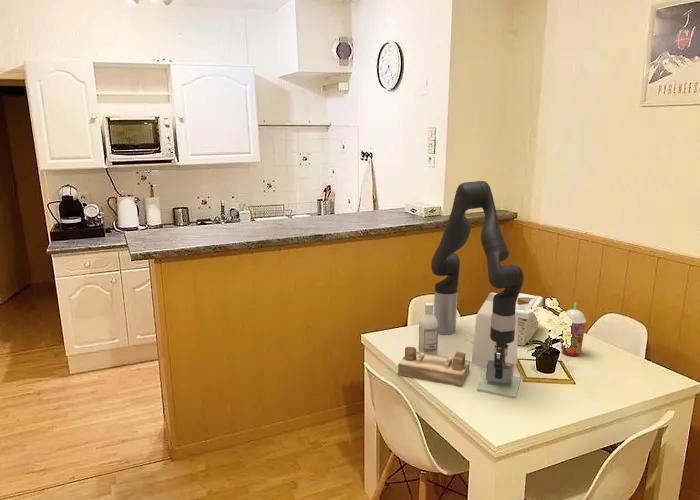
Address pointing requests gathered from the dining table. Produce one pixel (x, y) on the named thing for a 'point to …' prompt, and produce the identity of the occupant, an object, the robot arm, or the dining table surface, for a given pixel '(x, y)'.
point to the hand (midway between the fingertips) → (499, 374)
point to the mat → (499, 387)
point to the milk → (482, 340)
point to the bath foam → (428, 331)
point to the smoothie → (575, 331)
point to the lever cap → (506, 375)
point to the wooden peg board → (434, 367)
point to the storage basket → (527, 317)
